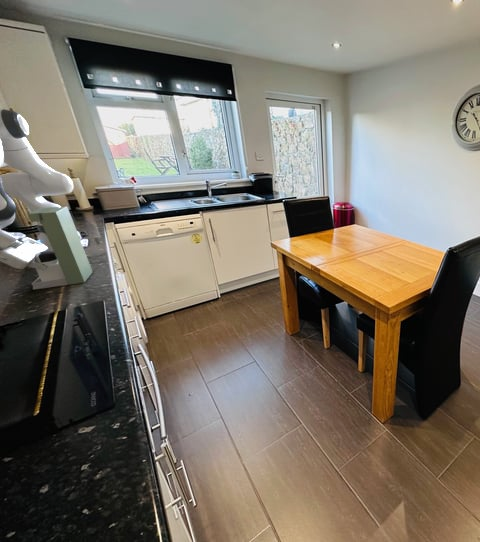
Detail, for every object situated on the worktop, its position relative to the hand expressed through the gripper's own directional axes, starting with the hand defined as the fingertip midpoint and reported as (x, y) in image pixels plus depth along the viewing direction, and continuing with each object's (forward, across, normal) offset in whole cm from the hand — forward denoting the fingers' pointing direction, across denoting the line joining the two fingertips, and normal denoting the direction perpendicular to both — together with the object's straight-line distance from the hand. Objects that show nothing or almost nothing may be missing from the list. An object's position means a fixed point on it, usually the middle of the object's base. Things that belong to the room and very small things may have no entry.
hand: (51, 264), depth 113 cm
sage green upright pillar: (+7, 0, +4) cm, 8 cm away
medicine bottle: (+4, 0, +5) cm, 7 cm away
